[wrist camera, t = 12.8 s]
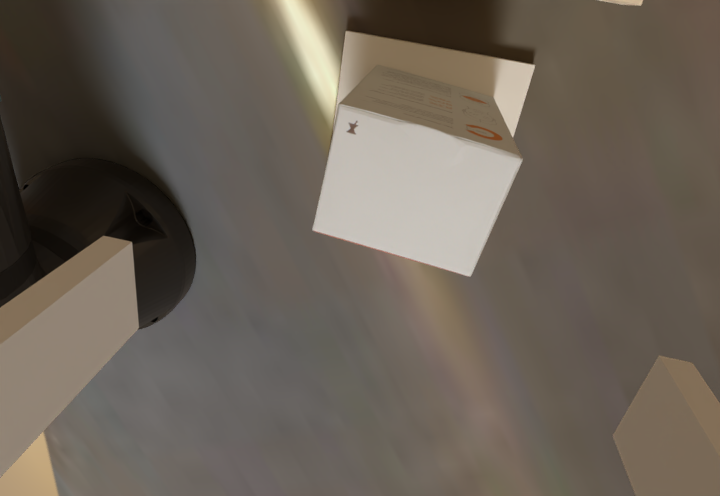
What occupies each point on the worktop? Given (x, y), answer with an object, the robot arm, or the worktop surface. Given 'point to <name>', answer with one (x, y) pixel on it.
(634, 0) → the pocket block
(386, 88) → the small box
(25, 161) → the worktop surface
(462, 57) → the ceramic tile
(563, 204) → the worktop surface
